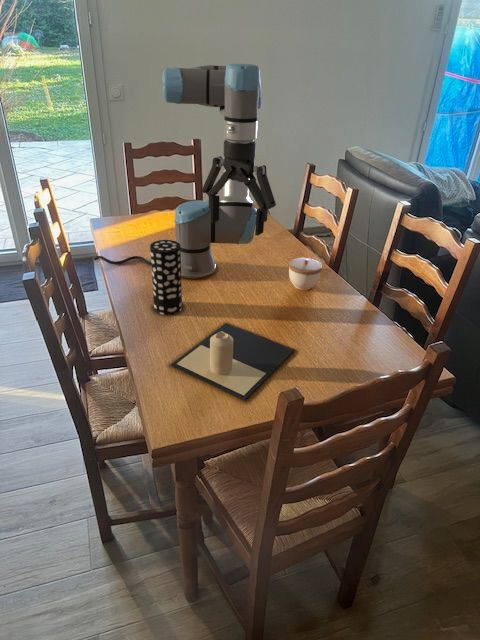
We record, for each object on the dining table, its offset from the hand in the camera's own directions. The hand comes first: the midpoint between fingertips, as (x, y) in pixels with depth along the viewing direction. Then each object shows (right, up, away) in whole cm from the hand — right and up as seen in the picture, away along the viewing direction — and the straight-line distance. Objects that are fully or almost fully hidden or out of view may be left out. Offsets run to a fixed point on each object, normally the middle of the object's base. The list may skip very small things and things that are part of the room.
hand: (236, 227), depth 119 cm
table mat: (-1, -33, +1) cm, 33 cm away
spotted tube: (-21, -20, +21) cm, 35 cm away
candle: (-4, -36, -4) cm, 36 cm away
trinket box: (+22, -12, +36) cm, 44 cm away
